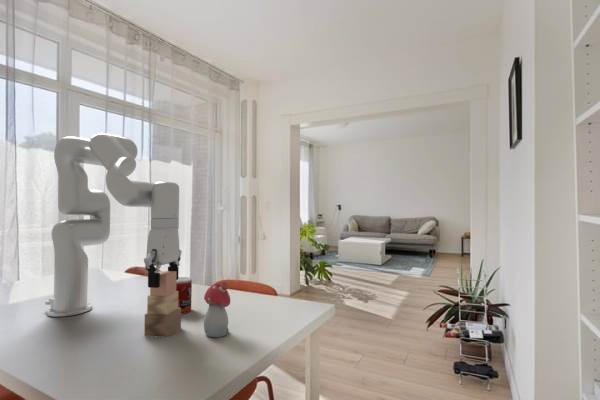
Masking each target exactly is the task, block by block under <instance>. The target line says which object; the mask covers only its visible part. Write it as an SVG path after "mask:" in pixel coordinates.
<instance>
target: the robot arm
mask: <svg viewBox="0 0 600 400" xmlns="http://www.w3.org/2000/svg"><path fill="white" fill-rule="evenodd" d="M53 152H54V153H53V159H54V163H55V167H56V169H57V170H56V171H57V176H58V177H57V178H58V180H57V207H58V210H59V212H60V213H61V215H65V216H72V217H73V216H75V217H76V216H79V217H80V216H84V217H85V216H89V219H83V218H82V219H81V218H79V219H64V220H61V221H58V222H57V223H55V224H54V225H53V227H52V229H51V240H52V244H53V252H54V263H53V264H54V266H53V267H54V270H53V272H54V277H53V279H54V280H53V297H50V298H49V299H48V300H46V301H45V304H44V305H45V306H50V308H49V309H48V310H47V313H46V314H47V316H49V317H56V318H58V317H59V318H60V317H69V316H71V317H72V316H74V315H79V314H80V315H81V314H83V313H86V312H88V311H91V310H92V309H93V303H90V302H88V291H89V290H88V285H89V283H88V282H89V258H88V255H87V253H86V251H85V250H84V249H83V248H82V247H87V246H97V245H103V244H104V243H105V242H107V240H108V239H109V236H110V232H111V201H110V198H109V196H108V194H107V193H106V192H104V191H102V190H99V189H89V178H88V174H87V172H86V171H85V169H84V167H83V166H82V165H81V164H86V165H95V166H102V167H104V168H105V170H107V171H106V175H105V185H106V189H107V190H108V192H109V193H110V194H111V196H112V197H113V198H114V199H115V200H116V202H118V203H119V204H121V205H122V206H124V207H128V208H151V209H150V229H149V232H148V237H147V244H146V253H145V258H143V262H144V267H145V269H146V273H147V274H148V275H147V287H148V288H158V287H160V273H158V272H159V271H160V269H161V267H162V266H163V265H167V264H168V266H167V271H177V276H176V280H178V277H179V267H180V261H181V255H182V250H181V249H180V236H179V227H180V222H179V221H180V186H179V184H178V183H176V182H169V181H156V182H147V181H139V180H138V181H137V180H131V179H129V178H128V176H130V175H131V174H133V173H134V171H135V170H136V168H137V161H136V158H137V156H138V147H137V144H136V143H135V142H134V141H133V140H132V139H130V138H127V137H123V136H119V135H115V134H111V133H106V132H105V133H104V132H100V133H97V134H94V135H92V136H91V137H90V138H89V139H88V138H85V137H84V138H83V137H77V136H66V137H62V138H61V139H58V141H57V142H56V144H55V148H54V151H53Z"/></svg>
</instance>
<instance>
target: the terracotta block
mask: <svg viewBox="0 0 600 400" xmlns="http://www.w3.org/2000/svg"><path fill="white" fill-rule="evenodd" d="M158 273H160V287H158V288H150V287H149V288H150V294H149V295H152V296H168V295H170V294H173V293H175V292H176V276H177V271H168V270H161V271H160V270H159V272H158Z"/></svg>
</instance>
